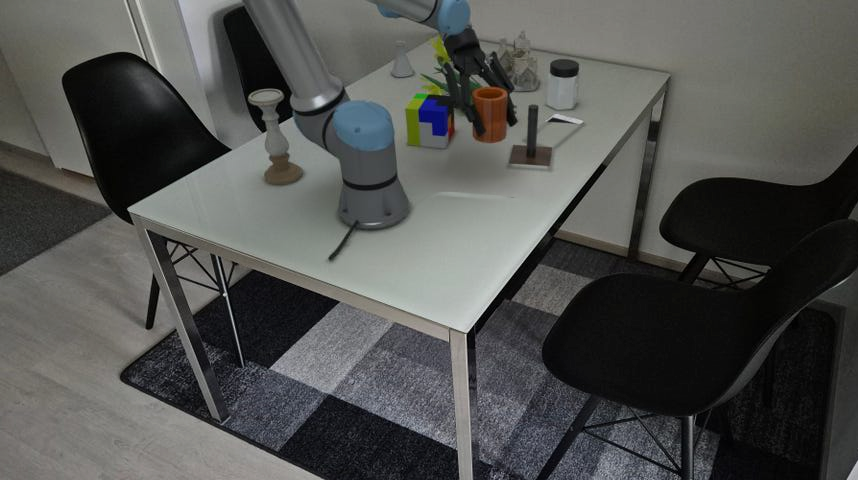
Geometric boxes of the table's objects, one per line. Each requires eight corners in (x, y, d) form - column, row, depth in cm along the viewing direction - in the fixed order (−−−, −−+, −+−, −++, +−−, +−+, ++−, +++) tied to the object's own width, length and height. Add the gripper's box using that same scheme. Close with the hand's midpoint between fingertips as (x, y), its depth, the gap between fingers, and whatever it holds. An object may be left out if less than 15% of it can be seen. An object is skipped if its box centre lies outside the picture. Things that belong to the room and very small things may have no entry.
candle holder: (263, 170, 153) (243, 90, 140) (299, 164, 155) (283, 85, 143) (266, 188, 146) (246, 105, 134) (304, 181, 149) (288, 99, 136)
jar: (570, 112, 179) (574, 71, 172) (543, 107, 182) (546, 67, 174) (579, 100, 186) (583, 60, 178) (553, 96, 188) (555, 56, 181)
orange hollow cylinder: (504, 144, 139) (505, 101, 133) (470, 142, 140) (469, 99, 134) (508, 129, 145) (509, 87, 139) (475, 127, 146) (475, 85, 140)
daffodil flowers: (486, 141, 167) (391, 78, 177) (506, 148, 180) (417, 88, 191) (519, 84, 162) (419, 22, 173) (537, 95, 175) (444, 37, 186)
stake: (549, 170, 153) (553, 116, 144) (508, 167, 154) (510, 113, 145) (551, 151, 160) (555, 99, 152) (512, 148, 162) (514, 96, 153)
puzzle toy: (445, 148, 162) (444, 111, 156) (408, 144, 164) (405, 108, 157) (454, 131, 170) (453, 96, 163) (418, 128, 171) (416, 93, 165)
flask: (389, 71, 205) (386, 40, 199) (411, 68, 207) (409, 37, 201) (393, 79, 200) (391, 47, 193) (416, 76, 201) (414, 45, 195)
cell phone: (584, 123, 173) (584, 120, 172) (553, 149, 161) (553, 145, 160) (555, 116, 177) (555, 113, 176) (523, 140, 165) (523, 137, 164)
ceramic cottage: (487, 71, 204) (489, 25, 194) (537, 74, 203) (542, 28, 193) (485, 93, 192) (487, 45, 182) (539, 96, 192) (544, 48, 182)
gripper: (489, 36, 147) (528, 124, 147) (412, 53, 138) (452, 147, 138) (503, 18, 140) (543, 111, 140) (422, 35, 132) (465, 134, 131)
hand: (498, 129), depth 139 cm, fingers closed on orange hollow cylinder, 8 cm apart
